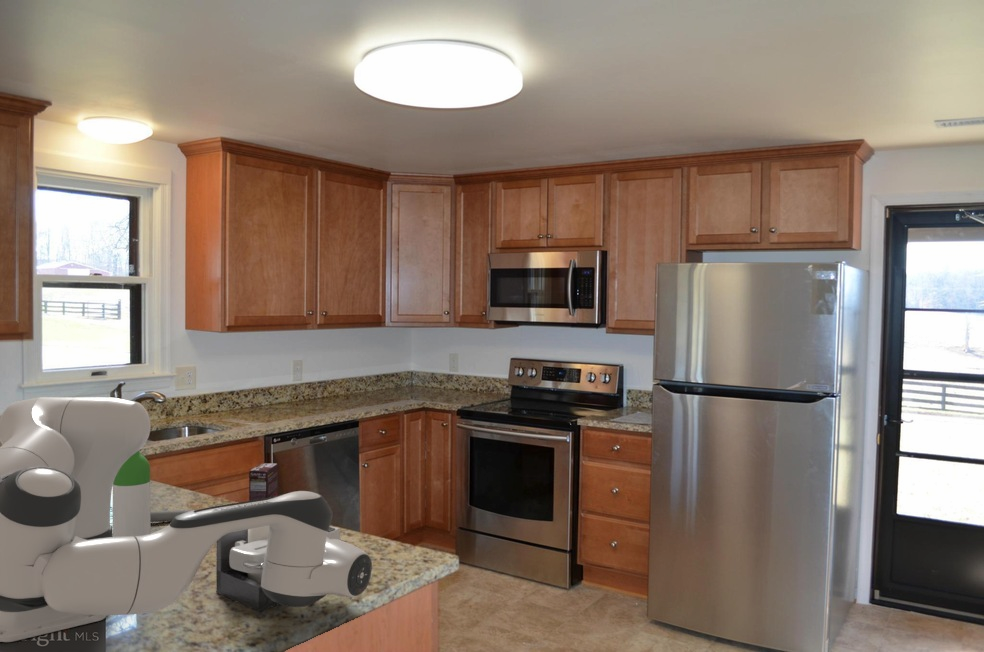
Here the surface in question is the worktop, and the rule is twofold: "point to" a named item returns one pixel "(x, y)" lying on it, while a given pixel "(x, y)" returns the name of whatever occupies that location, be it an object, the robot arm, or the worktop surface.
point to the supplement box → (263, 481)
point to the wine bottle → (132, 498)
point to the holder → (238, 576)
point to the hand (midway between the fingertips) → (259, 539)
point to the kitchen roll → (257, 535)
